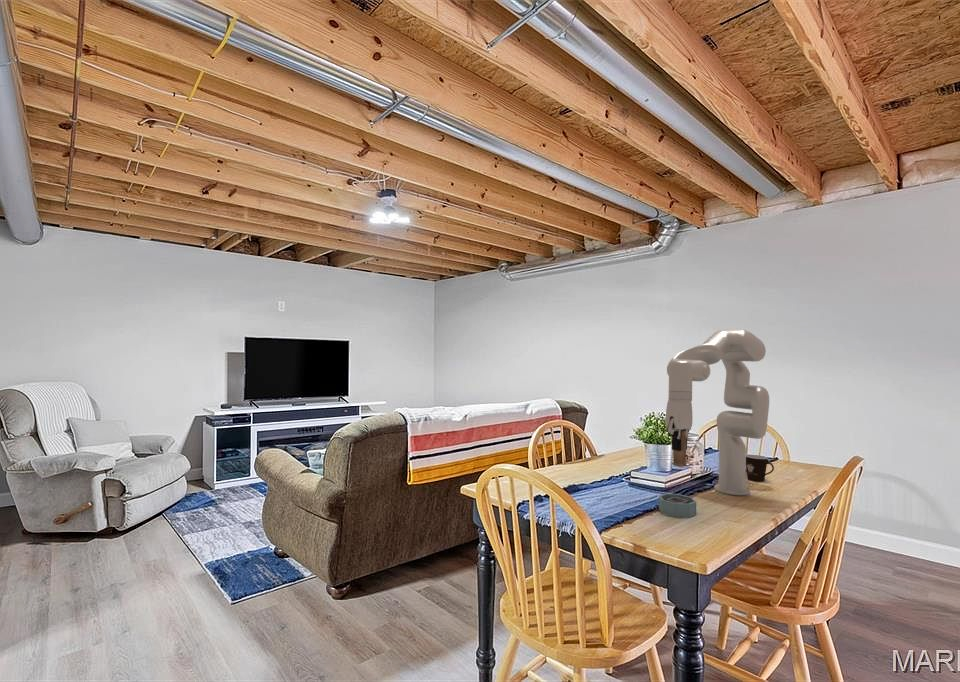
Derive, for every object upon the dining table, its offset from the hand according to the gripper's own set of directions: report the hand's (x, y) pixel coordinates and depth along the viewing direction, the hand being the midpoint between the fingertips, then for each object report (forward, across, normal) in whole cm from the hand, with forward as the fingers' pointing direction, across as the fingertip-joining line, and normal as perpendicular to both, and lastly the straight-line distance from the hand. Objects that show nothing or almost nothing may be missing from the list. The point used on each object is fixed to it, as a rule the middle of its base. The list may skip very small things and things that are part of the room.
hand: (679, 449), depth 167 cm
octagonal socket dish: (+21, 0, 0) cm, 22 cm away
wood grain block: (+6, 0, 0) cm, 6 cm away
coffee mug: (+21, -66, -2) cm, 69 cm away
